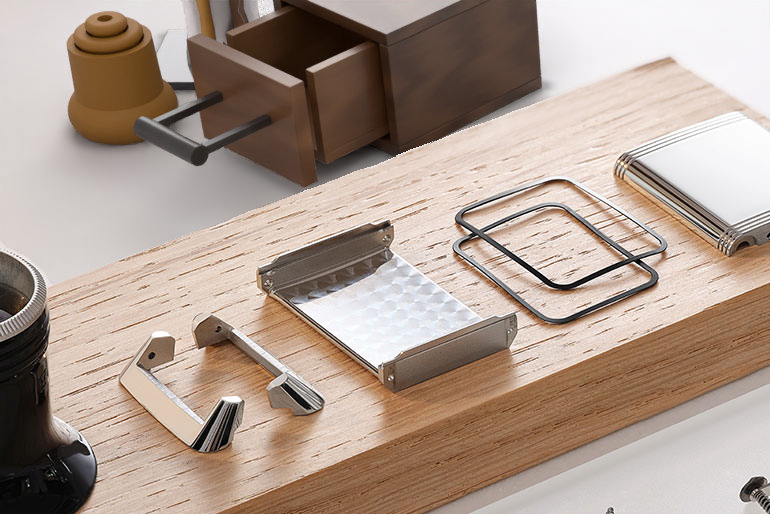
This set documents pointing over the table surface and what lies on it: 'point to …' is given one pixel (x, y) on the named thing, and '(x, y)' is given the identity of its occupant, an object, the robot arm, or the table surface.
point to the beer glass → (217, 17)
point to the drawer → (280, 95)
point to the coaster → (175, 60)
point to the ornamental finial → (115, 79)
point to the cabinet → (442, 59)
